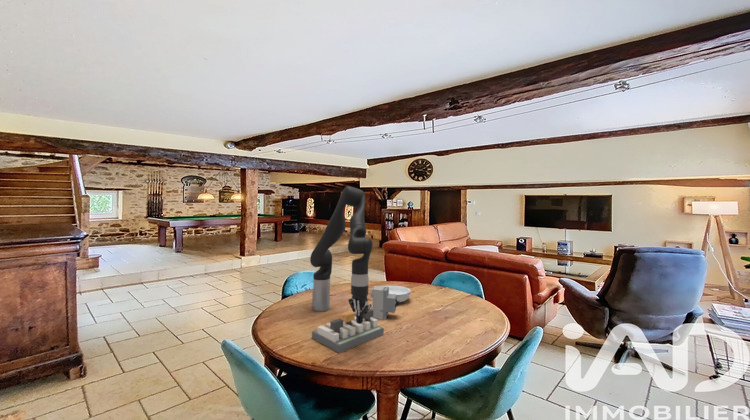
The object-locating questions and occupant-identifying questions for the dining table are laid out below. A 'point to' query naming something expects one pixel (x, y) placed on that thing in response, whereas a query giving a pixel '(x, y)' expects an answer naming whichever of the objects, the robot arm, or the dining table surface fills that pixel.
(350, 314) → the handle
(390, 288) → the serving bowl
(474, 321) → the dining table surface
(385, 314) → the circuit breaker
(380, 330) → the breaker panel
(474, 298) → the dining table surface
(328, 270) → the robot arm
